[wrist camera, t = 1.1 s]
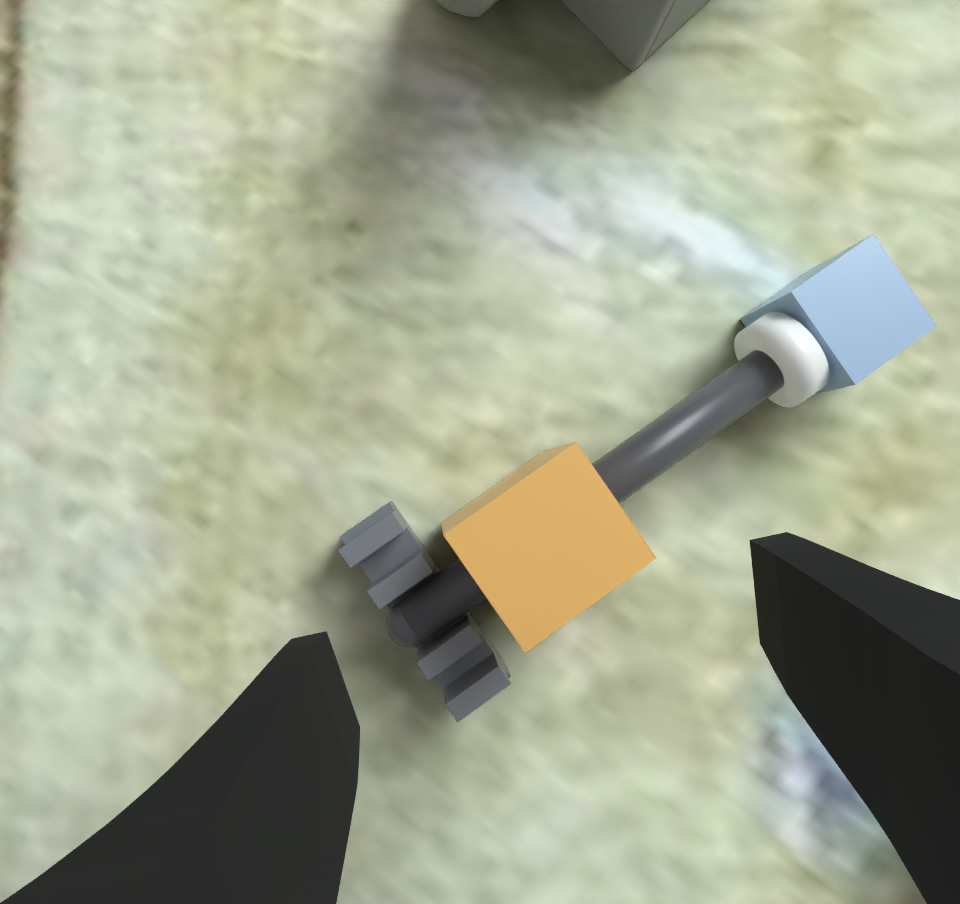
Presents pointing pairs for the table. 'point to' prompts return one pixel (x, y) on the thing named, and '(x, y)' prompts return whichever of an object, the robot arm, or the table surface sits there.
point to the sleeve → (546, 543)
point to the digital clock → (614, 22)
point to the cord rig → (655, 449)
